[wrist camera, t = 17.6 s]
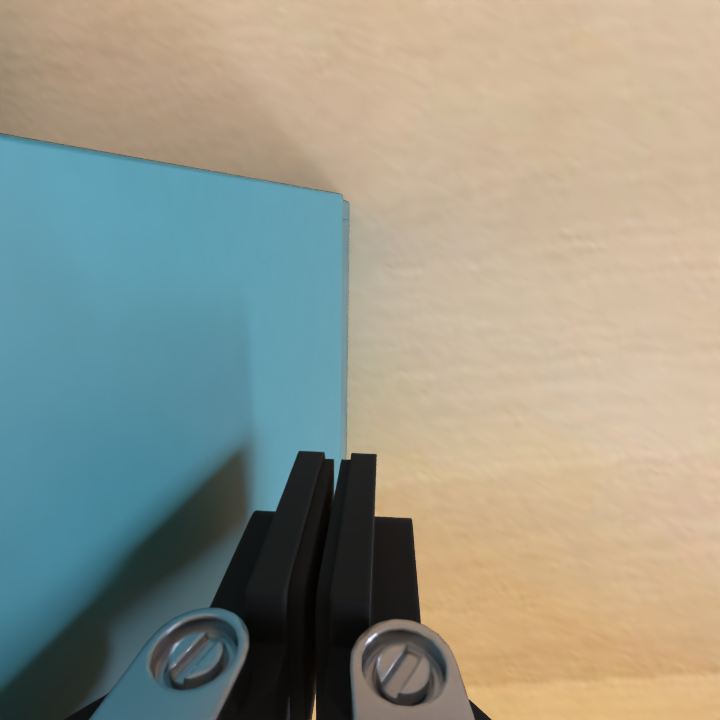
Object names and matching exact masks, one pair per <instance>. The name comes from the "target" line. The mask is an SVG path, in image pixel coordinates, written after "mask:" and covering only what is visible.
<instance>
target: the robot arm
mask: <svg viewBox="0 0 720 720" xmlns="http://www.w3.org/2000/svg"><path fill="white" fill-rule="evenodd" d="M376 457H377V454H360V453H352V454H351V460H344V459H342V460H341V463H340V469H339V474H338V479H337V485H336V490H335V495H334V459H325V452H316V451H299V452H298V454H297V457H296V459H295V462H294V464H293V467H292V470H291V472H290V475H289V478H288V480H287V483H286V486H285V488H284V491H283V493H282V496H281V499H280V501H279V504H278V507H277V509H276V511H259V510H256V511H254V512H253V514H252V516H251V518H250V520H249V522H248V524H247V526H246V529H245V531H244V533H243V535H242V537H241V540H240V542H239V544H238V546H237V548H236V550H235V553H234V555H233V557H232V559H231V561H230V564H229V566H228V568H227V570H226V572H225V575H224V577H223V579H222V581H221V583H220V586H219V588H218V590H217V592H216V594H215V596H214V599H213V601H212V603H211V605H210V607H209V608H207V607H206V608H201V609H196V610H190V611H188V612H186V613H183V614H181V615H179V616H176V617H174V618H173V619H171V620H170V621H168V622H167V623H165V624H164V625H163V626H161V627H160V628H159V629H158V630H157V631H156V632H155V633H154V634H153V635H152V636H151V638H150V639H149V640H148V641H147V642H146V644H145V645H144V646H143V648H142V649H141V650H140V652H139V653H138V654H137V656H136V657H135V659H134V660H133V661H132V663H131V664H130V665H129V667H128V668H127V669H126V671H125V672H124V673H123V675H122V676H121V677H120V679H119V680H118V681H117V683H116V684H115V685H114V687H113V688H112V689H111V691H110V692H109V693H108V694H106V695H104V696H103V697H101V698H99V699H97V700H96V701H94V702H92V703H91V704H89V705H87V706H86V707H84V708H82V709H81V710H79V711H77V712H75V713H74V714H72V715H70V716H69V717H67V718H65V719H64V720H312V714H313V707H314V700H315V694H316V720H491V719H490V718H489V717H488V716H487V715H486V714H485V713H484V712H482V711H481V710H480V709H479V708H478V707H477V706H476V705H475V704H474V703H473V702H471V701H470V700H469V699H468V696H467V693H466V690H465V687H464V684H463V680H462V677H461V674H460V671H459V668H458V665H457V662H456V659H455V657H454V655H453V653H452V651H451V649H450V647H449V645H448V644H447V643H446V642H445V641H444V640H443V639H442V637H441V636H440V635H439V634H438V633H436V632H435V631H433V630H432V629H430V628H428V627H427V626H425V625H423V624H421V620H420V608H419V596H418V584H417V572H416V560H415V548H414V536H413V525H412V519H411V518H394V517H375V516H374V515H375V486H376Z"/></svg>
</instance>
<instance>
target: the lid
mask: <svg viewBox="0 0 720 720" xmlns="http://www.w3.org/2000/svg"><path fill="white" fill-rule="evenodd" d="M342 213H343V196H342V194H339V193H333V192H328V191H322V190H317V189H311V188H305V187H300V186H294V185H288V184H283V183H277V182H272V181H266V180H260V179H255V178H249V177H243V176H238V175H232V174H227V173H221V172H215V171H210V170H204V169H198V168H193V167H187V166H182V165H176V164H170V163H165V162H159V161H153V160H148V159H142V158H137V157H131V156H125V155H120V154H114V153H109V152H103V151H97V150H92V149H86V148H80V147H75V146H69V145H64V144H58V143H52V142H47V141H41V140H35V139H30V138H24V137H19V136H13V135H7V134H2V133H0V720H64V719H65V718H67V717H69V716H70V715H72V714H74V713H75V712H77V711H79V710H81V709H82V708H84V707H86V706H87V705H89V704H91V703H92V702H94V701H96V700H97V699H99V698H101V697H103V696H104V695H106V694H108V693H109V692H110V691H111V689H112V688H113V687H114V685H115V684H116V683H117V681H118V680H119V679H120V677H121V676H122V675H123V673H124V672H125V671H126V669H127V668H128V667H129V665H130V664H131V663H132V661H133V660H134V659H135V657H136V656H137V654H138V653H139V652H140V650H141V649H142V648H143V646H144V645H145V644H146V642H147V641H148V640H149V639H150V638H151V636H152V635H153V634H154V633H155V632H156V631H157V630H158V629H159V628H160V627H161V626H163V625H164V624H165V623H167V622H168V621H170V620H171V619H173V618H174V617H176V616H179V615H181V614H183V613H186V612H188V611H190V610H196V609H201V608H206V607H207V608H209V607H210V605H211V603H212V601H213V599H214V596H215V594H216V592H217V590H218V588H219V586H220V583H221V581H222V579H223V577H224V575H225V572H226V570H227V568H228V566H229V564H230V561H231V559H232V557H233V555H234V553H235V550H236V548H237V546H238V544H239V542H240V540H241V537H242V535H243V533H244V531H245V529H246V526H247V524H248V522H249V520H250V518H251V516H252V514H253V512H254V511H256V510H259V511H276V509H277V507H278V504H279V501H280V499H281V496H282V493H283V491H284V488H285V486H286V483H287V480H288V478H289V475H290V472H291V470H292V467H293V464H294V462H295V459H296V457H297V454H298V452H299V451H316V452H325V459H334V495H335V490H336V485H337V479H338V474H339V469H340V463H341V341H342Z"/></svg>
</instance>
